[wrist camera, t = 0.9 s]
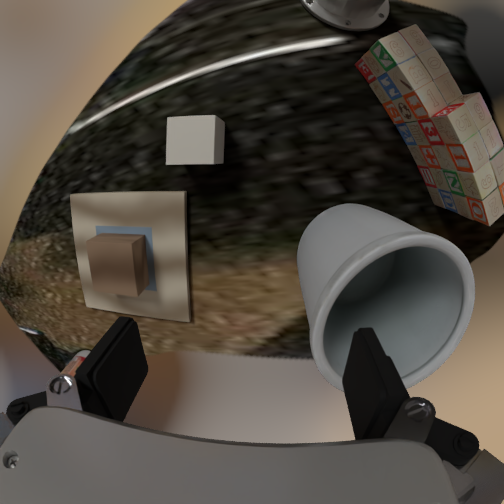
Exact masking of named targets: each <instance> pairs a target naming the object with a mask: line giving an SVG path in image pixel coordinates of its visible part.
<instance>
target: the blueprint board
mask: <svg viewBox="0 0 504 504" xmlns="http://www.w3.org/2000/svg"><path fill="white" fill-rule="evenodd" d="M70 200H71V213H72V223H73V232H74V240H75V248H76V254H77V261H78V267H79V272H80V278H81V283H82V288H83V293H84V297H85V302H86V306H87V307H91V308H97V309H102V310H108V311H113V312H119V313H126V314H132V315H138V316H145V317H152V318H160V319H167V320H175V321H183V322H190V320H191V308H190V292H189V273H188V247H187V191H134V192H100V193H79V194H71V195H70ZM100 233H118V234H142V235H145V241H146V254H147V265H148V275H149V285H148V286H147V287H146V288H145V289H144V291H143V292H142V293H141V294H140V295H139V296H138V297H133V296H126V295H118V294H111V293H104V292H98V291H94V289H93V284H92V278H91V272H90V266H89V260H88V253H87V246H86V241H87V240H89V239H91V238H93V237H95V236H97V235H98V234H100Z"/></svg>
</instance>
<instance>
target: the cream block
mask: <svg viewBox="0 0 504 504" xmlns="http://www.w3.org/2000/svg"><path fill="white" fill-rule="evenodd" d="M224 134H225V122H224V121H222V120H221V119H220V118H218V117H217V116H216V115H204V116H181V117H168V119H167V146H166V165H171V164H221V163H223V161H224Z"/></svg>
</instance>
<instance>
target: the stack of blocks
mask: <svg viewBox="0 0 504 504" xmlns="http://www.w3.org/2000/svg"><path fill="white" fill-rule="evenodd" d="M355 66H356V67H357V68H358V70H359V71H360V72H361V74H362V75H363V76H364V78H365V79H366V80H367V82H368V83H369V85H370V87H371V88H372V90H373V91H374V93H375V94H376V96H377V97H378V99H379V100H380V102H381V103H382V104H383V106H384V108H385V110H386V111H387V113H388V115H389V116H390V118H391V119H392V121H393V123H394V124H395V125H396V127H397V129H398V130H399V132H400V134H401V136H402V137H403V139H404V141H405V143H406V144H407V146H408V148H409V150H410V152H411V154H412V156H413V158H414V160H415V162H416V164H417V167H418V169H419V171H420V173H421V175H422V177H423V179H424V182H425V184H426V186H427V189H428V191H429V193H430V196H431V198H432V200H433V203H434V204H435V205H437V206H440V207H442V208H445V209H448V210H451V211H454V212H456V213H458V214H460V215H462V216H464V217H467V218H469V219H471V220H476V221H478V222H481V223H483V224H485V225H487V226H490V225H492V224H493V223H494V222H495V221H496V220H497V219H498V218H499V217H500V216H501V215H502V214H504V147H503V143H502V140H501V137H500V135H499V132H498V130H497V128H496V125H495V123H494V121H493V120H492V117H491V115H490V112H489V110H488V108H487V106H486V104H485V102H484V100H483V98H482V96H481V94H480V93H479V92H478V93H472V94H467V95H462V93H461V91H460V89H459V87H458V86H457V84H456V82H455V80H454V79H453V77H452V75H451V74H450V72H449V70H448V68H447V66H446V65H445V63H444V62H443V60H442V59H441V57H440V56H439V54H438V53H437V51H436V50H435V48H434V47H432V45H431V43H430V42H429V41H428V39H427V38H426V37H425V35H424V34H423V32H422V31H421V30H420V29H419V27H418V26H417V25H416V24H415V25H412V26H410V27H407V28H405V29H402V30H399V31H398V32H396V33H393V34H391V35H388V36H386V37H384V38H381V39H379V40H378V41H377V42H376V43H375V44H374V45H373V46H372V47H371V48H370V49H369V51H367V52H366V53H365V54H364V55H363V56H362V58H361V59H360V60H359V61H358V62H357V63H356V64H355Z"/></svg>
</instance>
